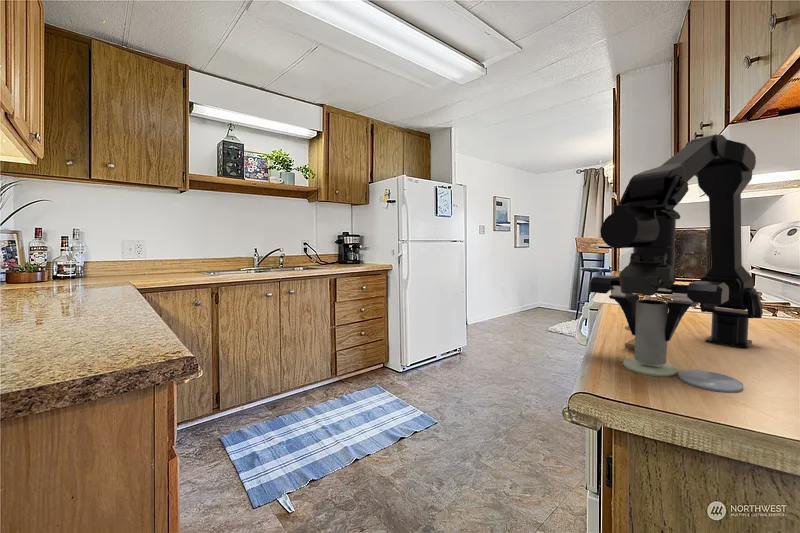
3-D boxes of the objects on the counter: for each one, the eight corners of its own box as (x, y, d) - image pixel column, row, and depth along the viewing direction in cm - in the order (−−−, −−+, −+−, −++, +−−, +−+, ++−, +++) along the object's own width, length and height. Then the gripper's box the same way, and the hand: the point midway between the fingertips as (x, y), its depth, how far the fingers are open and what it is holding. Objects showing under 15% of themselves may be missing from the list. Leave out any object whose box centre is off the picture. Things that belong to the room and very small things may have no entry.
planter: (658, 357, 64) (660, 299, 63) (672, 365, 59) (674, 304, 58) (629, 355, 64) (631, 299, 64) (641, 364, 60) (643, 303, 59)
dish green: (632, 358, 67) (632, 355, 67) (682, 369, 61) (683, 365, 61) (616, 367, 62) (616, 364, 62) (668, 380, 57) (669, 376, 56)
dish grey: (685, 370, 61) (685, 366, 61) (747, 383, 55) (747, 379, 55) (672, 381, 56) (672, 377, 56) (737, 397, 50) (738, 393, 50)
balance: (639, 340, 79) (641, 294, 78) (659, 343, 76) (661, 296, 76) (620, 350, 72) (621, 300, 72) (640, 354, 69) (642, 302, 69)
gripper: (575, 248, 63) (573, 335, 64) (714, 248, 48) (709, 362, 49) (602, 246, 70) (600, 325, 71) (731, 246, 55) (727, 346, 56)
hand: (650, 337), depth 62 cm, fingers closed on planter, 4 cm apart
